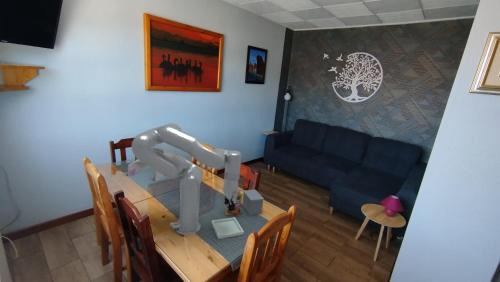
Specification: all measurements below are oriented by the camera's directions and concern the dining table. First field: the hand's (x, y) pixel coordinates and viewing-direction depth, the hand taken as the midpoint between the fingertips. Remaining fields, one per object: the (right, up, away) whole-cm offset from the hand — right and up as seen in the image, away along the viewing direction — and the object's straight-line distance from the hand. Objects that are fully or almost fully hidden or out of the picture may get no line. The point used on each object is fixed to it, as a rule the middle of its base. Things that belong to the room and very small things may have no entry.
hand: (229, 207), depth 119 cm
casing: (-66, +8, +63) cm, 92 cm away
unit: (+12, -9, +25) cm, 29 cm away
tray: (-2, -13, +3) cm, 13 cm away
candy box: (+1, -10, +18) cm, 20 cm away
